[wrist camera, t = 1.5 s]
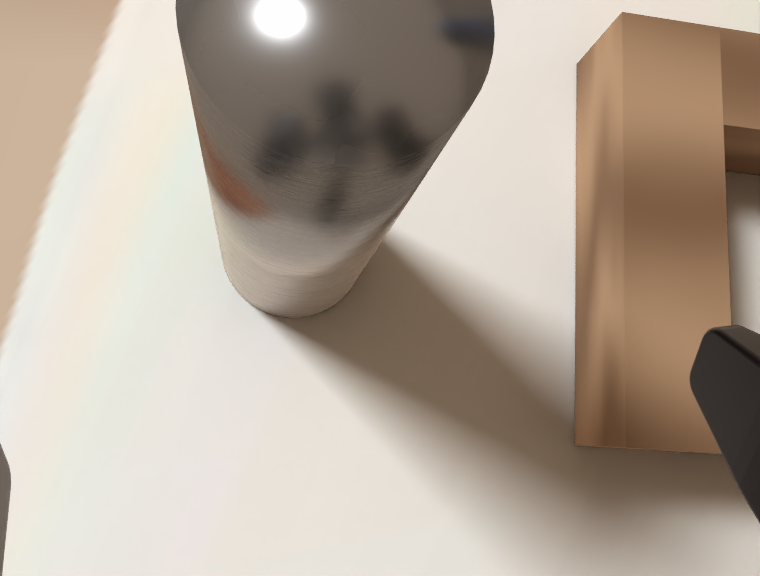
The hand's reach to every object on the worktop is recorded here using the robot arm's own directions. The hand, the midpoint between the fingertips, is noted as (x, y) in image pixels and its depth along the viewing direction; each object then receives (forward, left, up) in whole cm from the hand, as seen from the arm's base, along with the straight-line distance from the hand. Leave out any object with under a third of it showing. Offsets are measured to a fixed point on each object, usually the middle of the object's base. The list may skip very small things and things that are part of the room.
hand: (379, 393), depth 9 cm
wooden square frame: (+6, -14, -11) cm, 18 cm away
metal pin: (+5, +1, -11) cm, 12 cm away
